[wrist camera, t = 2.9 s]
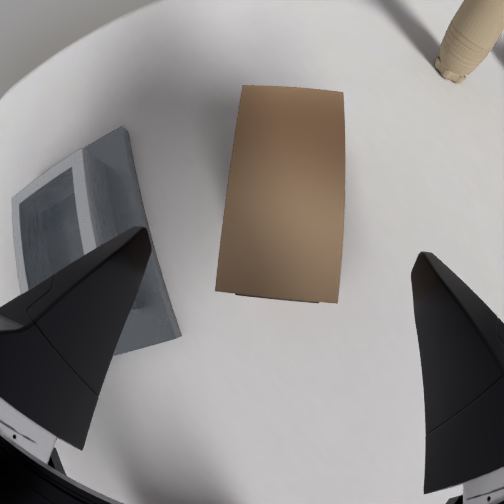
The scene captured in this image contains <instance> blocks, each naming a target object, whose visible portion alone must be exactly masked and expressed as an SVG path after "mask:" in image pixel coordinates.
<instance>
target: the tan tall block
mask: <svg viewBox="0 0 504 504" xmlns="http://www.w3.org/2000/svg"><path fill="white" fill-rule="evenodd" d="M344 206H345V119H344V97H343V92H337V91H329V90H320V89H310V88H297V87H281V86H248V85H243V87H242V93H241V99H240V105H239V111H238V118H237V124H236V131H235V137H234V144H233V151H232V158H231V165H230V172H229V179H228V187H227V194H226V202H225V210H224V218H223V226H222V234H221V242H220V251H219V259H218V268H217V277H216V287H215V291H219V292H227V293H235V295H240V296H249V297H258V298H268V299H278V300H288V301H298V302H309V303H319V302H327V303H338V294H339V284H340V273H341V260H342V246H343V229H344Z"/></svg>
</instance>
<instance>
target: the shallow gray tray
mask: <svg viewBox="0 0 504 504" xmlns="http://www.w3.org/2000/svg"><path fill="white" fill-rule="evenodd" d="M12 223H13V237H14V248H15V257H16V265H17V272H18V278H19V284H20V290H21V294H23V293H25V292H26V291H28V290H30V289H31V288H33V287H35V286H36V285H38V284H39V283H41V282H42V281H44V280H46V279H47V278H49V277H50V276H52V275H53V274H56V272H58V271H60V270H61V269H63V268H64V267H66V266H67V265H69V264H71V263H72V262H74V261H75V260H77V259H79V258H80V257H82V256H84V255H85V254H87V253H89V252H90V251H92V250H94V249H95V248H97V247H99V246H100V245H102V244H104V243H105V242H107V241H109V240H111V239H112V238H114V237H116V236H118V235H119V234H121V233H123V232H125V231H126V230H128V229H130V228H132V227H134V226H144V227H146V228H147V230H148V234H149V238H150V242H151V246H152V252H151V255H150V258H149V261H148V264H147V267H146V270H145V273H144V277H143V280H142V283H141V286H140V289H139V291H138V294H137V296H136V299H135V301H134V303H133V306H132V308H131V311H130V313H129V315H128V318H127V320H126V323H125V325H124V328H123V330H122V333H121V336H120V338H119V341H118V343H117V346H116V349H115V351H114V354H113V356H114V355H118V354H122V353H126V352H129V351H133V350H137V349H141V348H144V347H148V346H151V345H155V344H159V343H162V342H166V341H169V340H172V339H176V338H178V337H180V336H181V333H180V330H179V327H178V324H177V321H176V318H175V315H174V312H173V309H172V306H171V303H170V300H169V297H168V294H167V291H166V287H165V284H164V281H163V278H162V274H161V271H160V268H159V264H158V261H157V257H156V254H155V250H154V246H153V243H152V239H151V235H150V231H149V228H148V224H147V220H146V216H145V212H144V208H143V203H142V199H141V195H140V190H139V186H138V181H137V177H136V172H135V167H134V162H133V157H132V152H131V147H130V141H129V136H128V132H127V131H126V130H125V129H124V128H123V127H120V128H118V129H116V130H114V131H112V132H111V133H109V134H107V135H105V136H104V137H102V138H100V139H98V140H97V141H95V142H93V143H92V144H90V145H88V146H87V147H85V148H81V149H79V150H78V151H76V152H74V153H73V154H71V155H70V156H68V157H67V158H65V159H64V160H62V161H61V162H59V163H58V164H56V165H55V166H54V167H52V168H51V169H49V170H48V171H46V172H45V173H44V174H42V175H41V176H40V177H38V178H37V179H36V180H34V181H33V182H32V183H30V184H29V185H28V186H26V187H25V188H24V189H23V190H21V191H20V192H19V193H18V194H16V195H15V196H14V197H13V198H12Z"/></svg>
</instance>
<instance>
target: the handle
mask: <svg viewBox="0 0 504 504" xmlns="http://www.w3.org/2000/svg"><path fill="white" fill-rule="evenodd" d="M503 29H504V0H464V1H463V3H462V5H461V6H460V8H459V10H458V11H457V13H456V14H455V16H454V17H453V20H452V21H451V23H450V25H449V27H448V29H447V31H446V33H445V36H444V38H443V41H442V43H441V47H440V50H439V55H438V57H437V58H436V61H435V67H436V69H438V70H439V71H440V73H441V75H442V77H444V78H445V79H449V80H452V81H453V82H455V83H461V82H462V81H463V80H464V79H465V78H466V77H465V75H468V74H470V73H471V72H472V71H473V70H474V69H476V68H477V66H478V65H479V64H480V63H481V62H482V61H483V60H484V59H485V57H486V56H487V55H488V53H489V52H490V51H491V49H492V48H493V46H494V45H495V43H496V41H497V40H498V38H499V36H500V34H501V33H502V31H503Z"/></svg>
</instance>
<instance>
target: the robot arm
mask: <svg viewBox="0 0 504 504" xmlns="http://www.w3.org/2000/svg"><path fill="white" fill-rule="evenodd" d="M151 252H152V246H151V242H150V238H149V234H148V230H147V228H146V227H144V226H134V227H132V228H130V229H128V230H126V231H125V232H123V233H121V234H119V235H118V236H116V237H114V238H112V239H111V240H109V241H107V242H105V243H104V244H102V245H100V246H99V247H97V248H95V249H94V250H92V251H90V252H89V253H87V254H85V255H84V256H82V257H80V258H79V259H77V260H75V261H74V262H72V263H71V264H69V265H67V266H66V267H64V268H63V269H61V270H60V271H58V272H56V274H53V275H52V276H50V277H49V278H47V279H46V280H44V281H42V282H41V283H39V284H38V285H36V286H35V287H33V288H31V289H30V290H28V291H26V292H25V293H23V294H21V295H20V296H18V297H16V298H15V299H13V300H11V301H10V302H8V303H6V304H5V305H3V306H2V307H0V504H123V503H121V502H118V501H116V500H114V499H111V498H109V497H107V496H105V495H103V494H100V493H98V492H96V491H94V490H92V489H90V488H88V487H86V486H84V485H82V484H80V483H78V482H76V481H75V480H73V479H71V478H69V477H67V476H66V474H65V471H64V469H63V466H62V464H61V461H60V458H59V456H58V453H57V450H56V448H54V445H55V442H56V440H57V438H59V439H61V440H62V441H64V442H66V443H68V444H70V445H72V446H74V447H76V448H78V449H80V450H83V447H84V444H85V441H86V437H87V433H88V430H89V427H90V423H91V420H92V417H93V413H94V410H95V407H96V404H97V401H98V396H99V394H100V391H101V388H102V385H103V382H104V379H105V376H106V373H107V371H108V368H109V365H110V362H111V359H112V357H113V354H114V351H115V349H116V346H117V343H118V341H119V338H120V336H121V333H122V330H123V328H124V325H125V323H126V320H127V318H128V315H129V313H130V311H131V308H132V306H133V303H134V301H135V299H136V296H137V294H138V291H139V289H140V286H141V283H142V280H143V277H144V273H145V270H146V267H147V264H148V261H149V258H150V255H151ZM411 282H412V292H413V303H414V315H415V323H416V329H417V335H418V342H419V350H420V357H421V366H422V376H423V387H424V402H425V425H426V451H425V478H424V494H428V493H432V492H436V491H440V490H444V489H448V488H451V487H455V486H458V485H462V484H463V495H460V496H457V497H453V498H450V499H449V500H448V501H447V503H446V504H504V323H503V322H502V321H501V320H500V319H499V318H497V316H496V315H495V313H494V312H493V311H492V310H491V309H490V308H489V307H488V306H487V305H486V304H485V303H484V302H483V301H482V300H481V299H480V298H479V297H478V296H477V295H476V294H475V293H474V292H473V291H472V290H471V289H470V288H469V287H468V286H467V285H466V284H465V283H464V282H463V281H462V280H461V279H460V278H459V277H458V276H457V275H456V274H455V273H454V272H452V271H451V270H450V269H449V268H448V267H447V266H446V265H445V264H444V263H443V262H442V261H440V260H439V259H438V258H437V257H436V256H435V255H434V254H433V253H431V252H420V253H419V255H418V257H417V259H416V262H415V264H414V267H413V269H412V272H411Z"/></svg>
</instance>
